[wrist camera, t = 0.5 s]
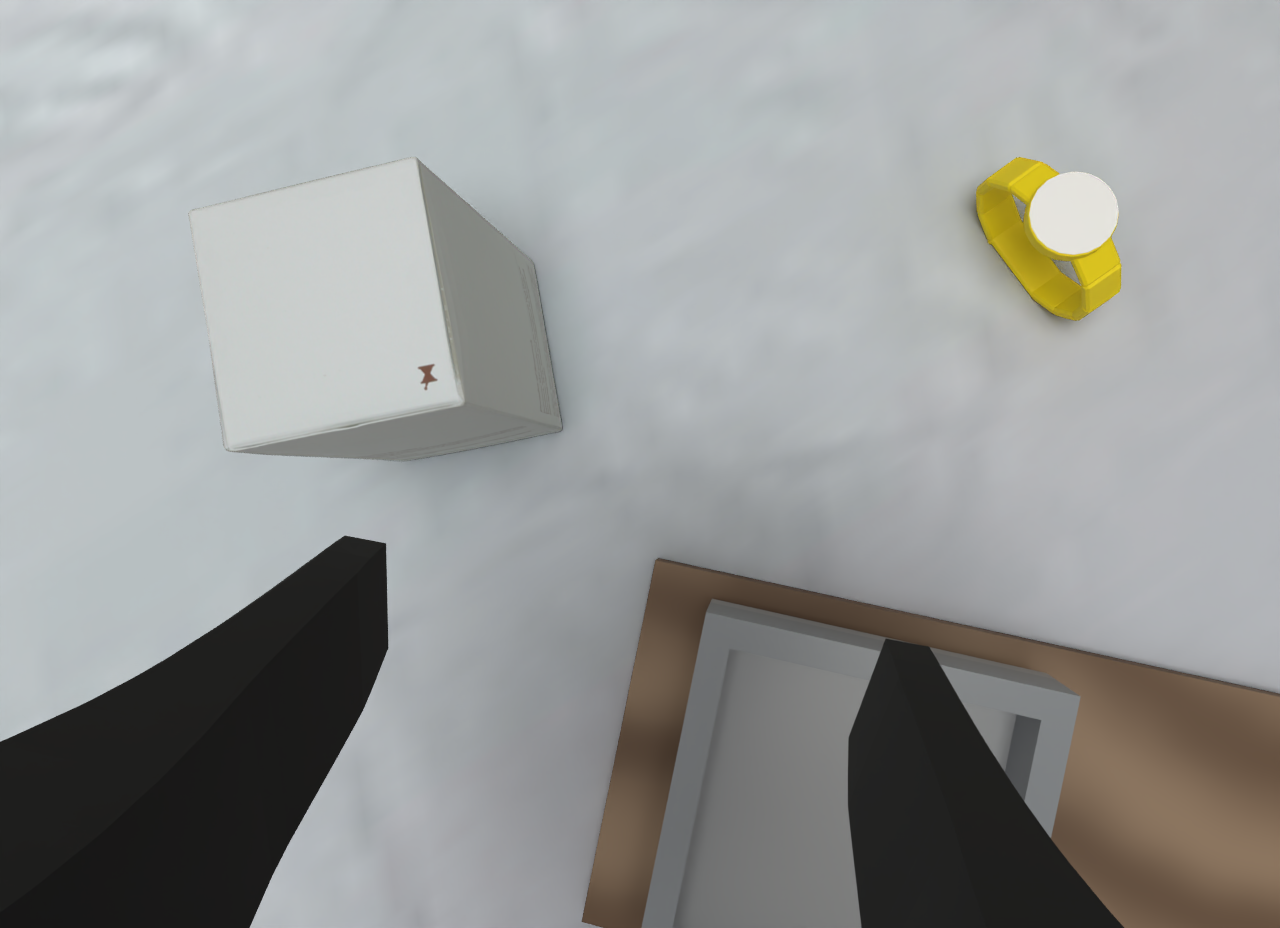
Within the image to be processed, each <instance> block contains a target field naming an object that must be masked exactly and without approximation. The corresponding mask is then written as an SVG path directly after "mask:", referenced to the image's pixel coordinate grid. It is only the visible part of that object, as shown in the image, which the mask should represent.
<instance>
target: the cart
mask: <svg viewBox="0 0 1280 928" xmlns="http://www.w3.org/2000/svg"><path fill="white" fill-rule="evenodd" d="M885 639H891V638H886V637H882V636H878V635H873V634H869V633H864V632H860V631H855V630H851V629H846V628H842V627H837V626H833V625H828V624H824V623H819V622H815V621H810V620H806V619H801V618H797V617H792V616H788V615H783V614H779V613H774V612H770V611H765V610H761V609H756V608H752V607H747V606H743V605H738V604H734V603H729V602H725V601H720V600H716V599H712V600H711V602H710V604H709V607H708V609H707V611H706V615H705V620H704V625H703V630H702V635H701V639H700V644H699V649H698V654H697V659H696V664H695V669H694V674H693V679H692V683H691V688H690V693H689V698H688V703H687V708H686V713H685V718H684V722H683V727H682V732H681V737H680V742H679V747H678V752H677V757H676V762H675V766H674V771H673V776H672V781H671V786H670V791H669V796H668V801H667V805H666V810H665V815H664V820H663V825H662V830H661V835H660V840H659V845H658V849H657V854H656V859H655V864H654V869H653V874H652V879H651V884H650V888H649V893H648V898H647V903H646V908H645V913H644V918H643V923H642V928H861V919H860V910H859V902H858V893H857V885H856V876H855V867H854V859H853V850H852V841H851V832H850V822H849V812H848V738H849V735H850V732H851V729H852V727H853V724H854V721H855V719H856V716H857V713H858V711H859V708H860V705H861V703H862V700H863V697H864V695H865V692H866V689H867V687H868V684H869V681H870V679H871V676H872V673H873V671H874V668H875V665H876V663H877V660H878V657H879V655H880V652H881V649H882V647H883V644H884V641H885ZM891 640H895V639H891ZM897 641H900V640H897ZM902 642H904V641H902ZM907 643H909V642H907ZM912 644H913V643H912ZM930 649H931V650H932V652H933V653H934V655H935V657H936V658H937V660H938V662H939V664H940V665H941V667H942V669H943V671H944V672H945V674H946V676H947V677H948V679H949V681H950V683H951V684H952V686H953V688H954V690H955V691H956V693H957V695H958V697H959V698H960V700H961V702H962V703H963V705H964V707H965V708H966V710H967V712H968V714H969V715H970V717H971V719H972V720H973V722H974V724H975V725H976V727H977V729H978V730H979V732H980V733H981V735H982V737H983V738H984V740H985V742H986V743H987V745H988V746H989V748H990V750H991V751H992V753H993V754H994V756H995V757H996V759H997V760H998V762H999V764H1000V765H1001V767H1002V768H1003V770H1004V771H1005V773H1006V774H1007V776H1008V778H1009V779H1010V781H1011V782H1012V784H1013V785H1014V787H1015V788H1016V790H1017V791H1018V793H1019V794H1020V796H1021V797H1022V799H1023V800H1024V801H1025V803H1026V804H1027V806H1028V807H1029V809H1030V810H1031V811H1032V813H1033V814H1034V816H1035V817H1036V818H1037V820H1038V821H1039V823H1040V824H1041V825H1042V827H1043V828H1044V830H1045V831H1046V832H1047V834H1048V835H1049V837H1050V838H1051V836H1052V831H1053V826H1054V821H1055V817H1056V812H1057V807H1058V802H1059V798H1060V793H1061V788H1062V783H1063V778H1064V774H1065V769H1066V764H1067V759H1068V755H1069V750H1070V745H1071V740H1072V736H1073V731H1074V726H1075V721H1076V716H1077V712H1078V707H1079V702H1080V697H1081V696H1079V695H1078V694H1076V693H1075V692H1073V691H1072V690H1070V689H1069V688H1068V687H1066V686H1065V685H1063V684H1062V683H1060V682H1059V681H1057V680H1056V679H1054V678H1053V677H1052V676H1050V675H1049V674H1047V673H1044V672H1039V671H1035V670H1030V669H1026V668H1021V667H1017V666H1012V665H1008V664H1003V663H999V662H994V661H990V660H985V659H981V658H976V657H972V656H967V655H963V654H958V653H954V652H949V651H945V650H940V649H936V648H931V647H930Z"/></svg>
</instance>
